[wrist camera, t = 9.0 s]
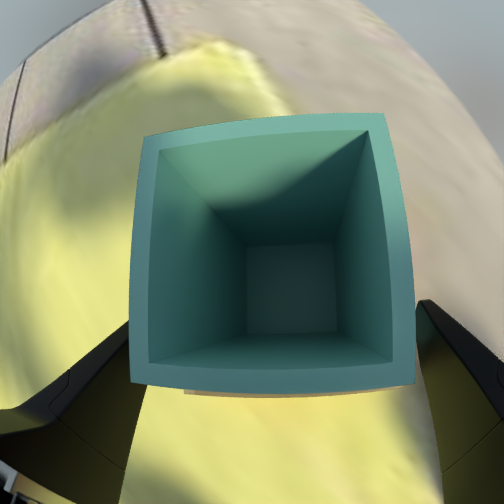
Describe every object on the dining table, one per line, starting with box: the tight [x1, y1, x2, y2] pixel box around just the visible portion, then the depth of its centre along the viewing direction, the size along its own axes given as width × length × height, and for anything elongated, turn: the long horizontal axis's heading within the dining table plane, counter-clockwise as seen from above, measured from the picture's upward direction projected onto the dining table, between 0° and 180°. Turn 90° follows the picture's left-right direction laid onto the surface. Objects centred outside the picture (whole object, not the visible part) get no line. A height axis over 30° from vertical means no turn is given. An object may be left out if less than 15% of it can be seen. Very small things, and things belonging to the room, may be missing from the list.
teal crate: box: [129, 113, 416, 394], centre depth 12 cm, size 6×6×12 cm
